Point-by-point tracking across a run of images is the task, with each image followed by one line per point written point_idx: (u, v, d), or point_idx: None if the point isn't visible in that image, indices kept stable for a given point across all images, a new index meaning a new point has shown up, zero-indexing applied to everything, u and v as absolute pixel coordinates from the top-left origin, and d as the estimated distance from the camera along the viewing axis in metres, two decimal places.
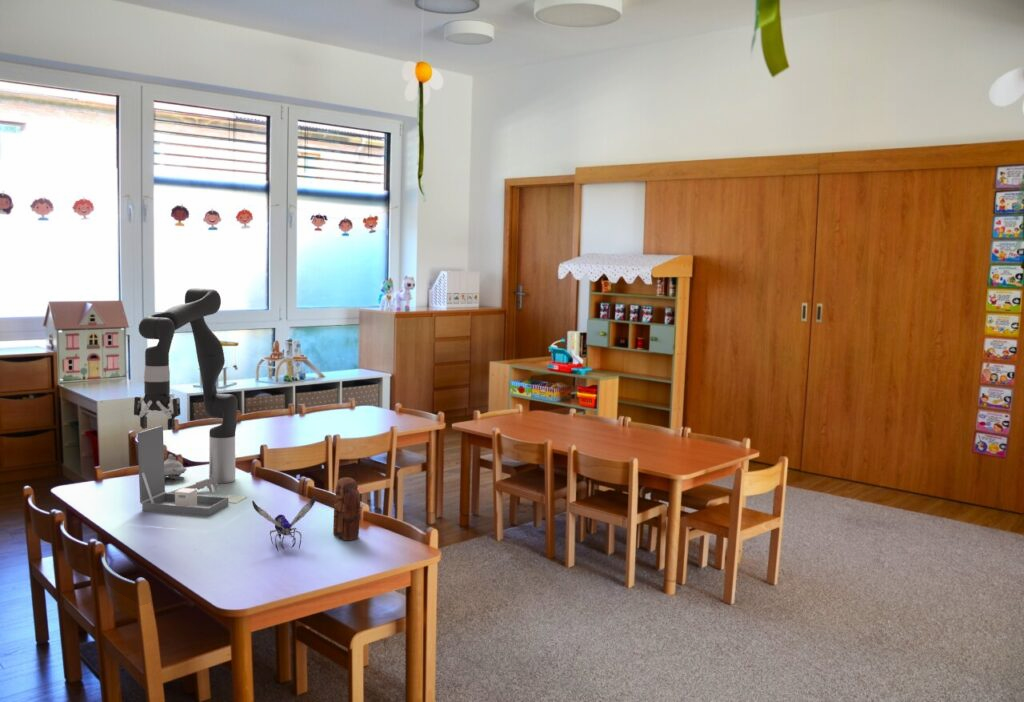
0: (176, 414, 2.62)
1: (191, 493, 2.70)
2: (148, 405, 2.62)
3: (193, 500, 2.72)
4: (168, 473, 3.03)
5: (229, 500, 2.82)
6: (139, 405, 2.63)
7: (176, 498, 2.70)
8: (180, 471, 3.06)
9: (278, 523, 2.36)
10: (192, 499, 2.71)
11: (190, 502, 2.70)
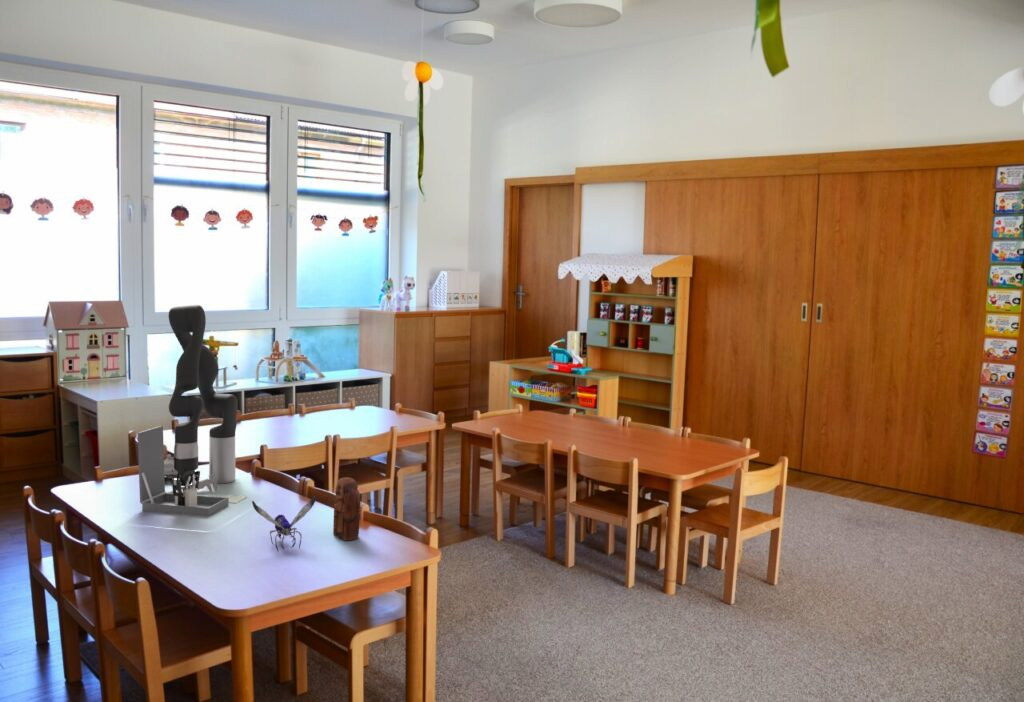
0: (197, 486, 2.77)
1: (191, 493, 2.70)
2: (188, 481, 2.70)
3: (193, 500, 2.72)
4: (166, 473, 3.03)
5: (229, 500, 2.82)
6: None
7: (176, 498, 2.70)
8: None
9: (278, 523, 2.36)
10: (192, 499, 2.71)
11: (190, 502, 2.70)
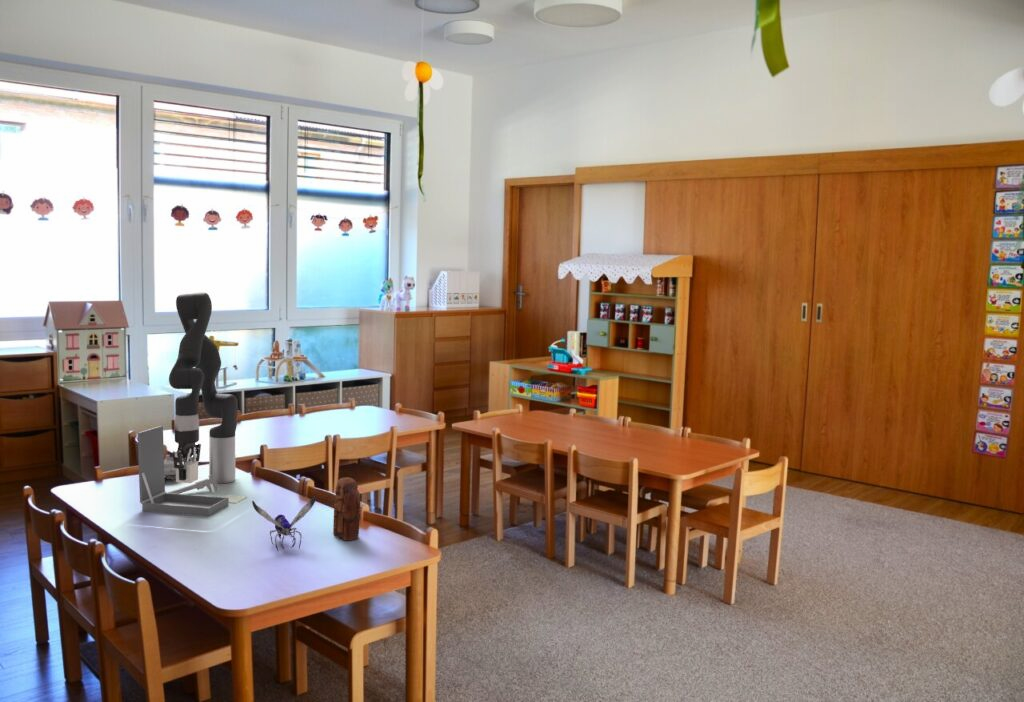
0: (198, 458, 2.76)
1: (192, 466, 2.70)
2: (189, 454, 2.69)
3: (194, 473, 2.71)
4: (165, 473, 3.03)
5: (229, 500, 2.82)
6: None
7: (177, 471, 2.69)
8: None
9: (278, 523, 2.36)
10: (193, 471, 2.71)
11: (191, 475, 2.70)
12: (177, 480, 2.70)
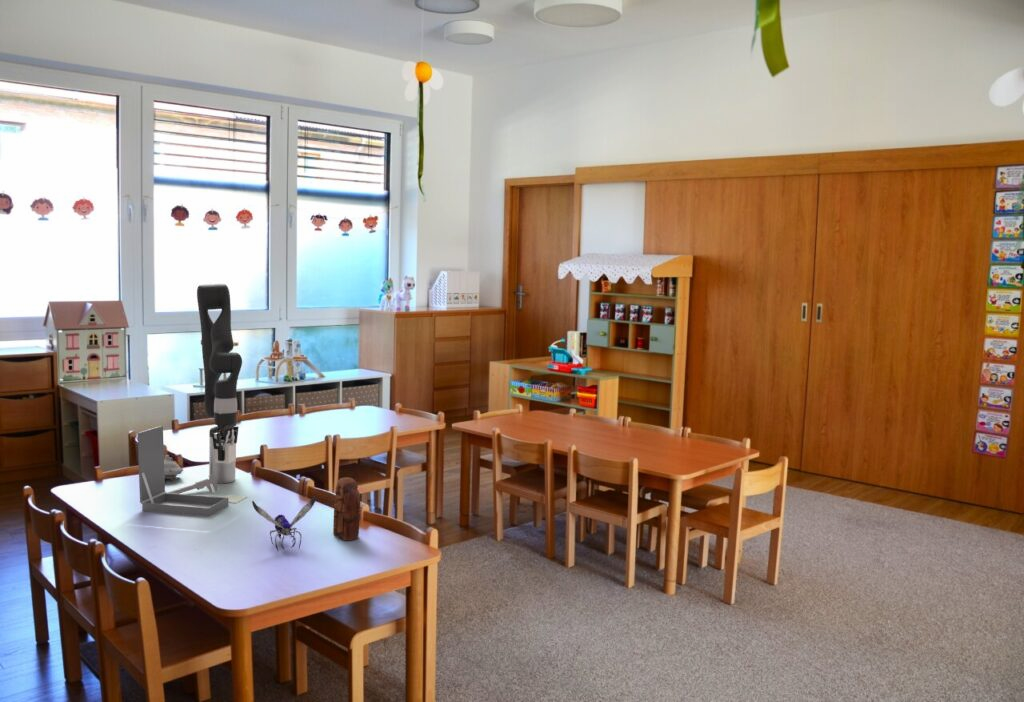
0: (236, 440, 2.86)
1: (230, 447, 2.80)
2: (227, 435, 2.79)
3: (232, 454, 2.81)
4: (164, 474, 3.02)
5: (229, 500, 2.82)
6: None
7: (216, 452, 2.79)
8: (176, 472, 3.05)
9: (278, 523, 2.36)
10: (231, 453, 2.81)
11: (229, 455, 2.80)
12: (216, 461, 2.80)
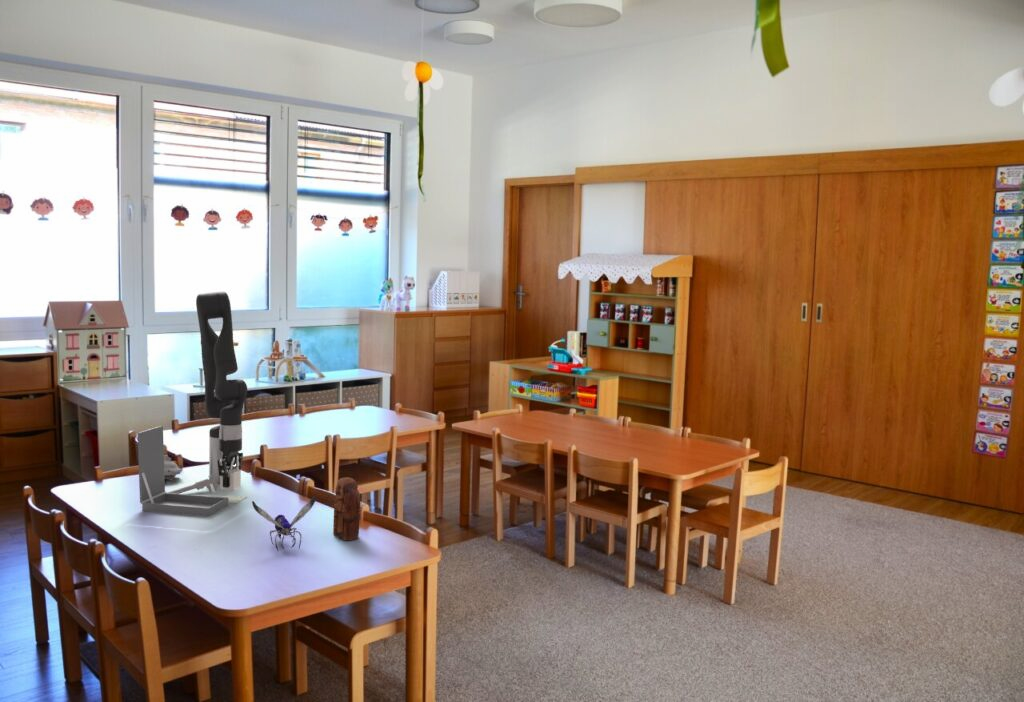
0: None
1: (235, 473, 2.82)
2: (232, 462, 2.81)
3: (237, 480, 2.83)
4: None
5: (229, 500, 2.82)
6: None
7: (221, 478, 2.81)
8: (175, 472, 3.05)
9: (278, 523, 2.36)
10: (236, 479, 2.83)
11: (234, 482, 2.82)
12: (221, 487, 2.82)
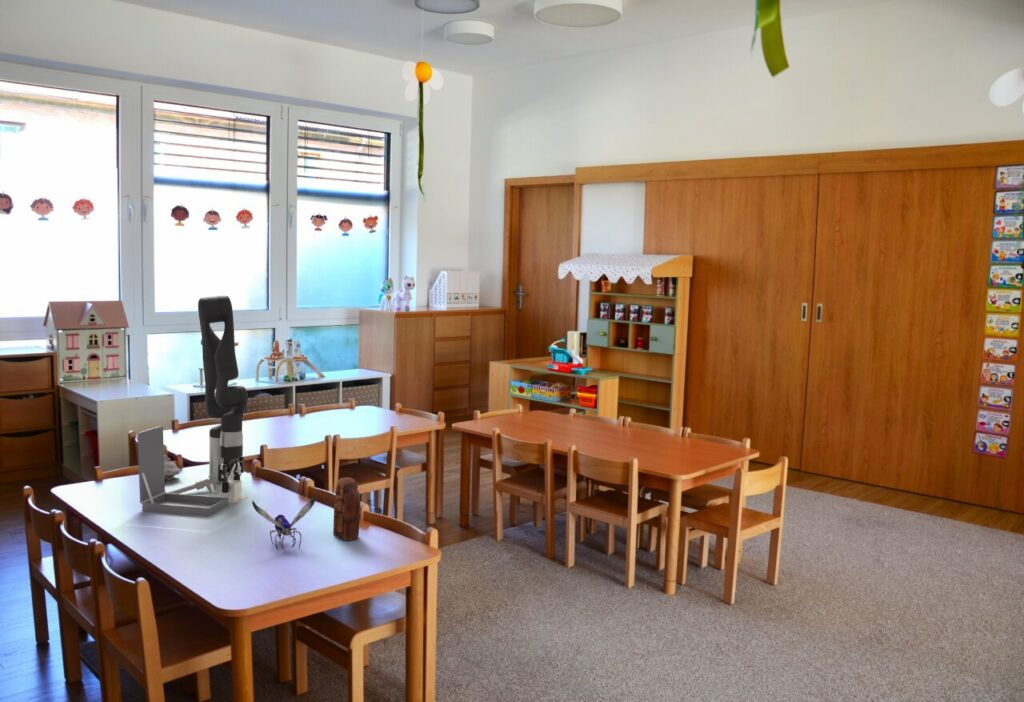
0: None
1: (236, 484, 2.83)
2: (233, 468, 2.81)
3: (238, 491, 2.84)
4: None
5: None
6: None
7: None
8: (174, 472, 3.04)
9: (278, 523, 2.36)
10: (237, 490, 2.83)
11: (235, 493, 2.82)
12: None
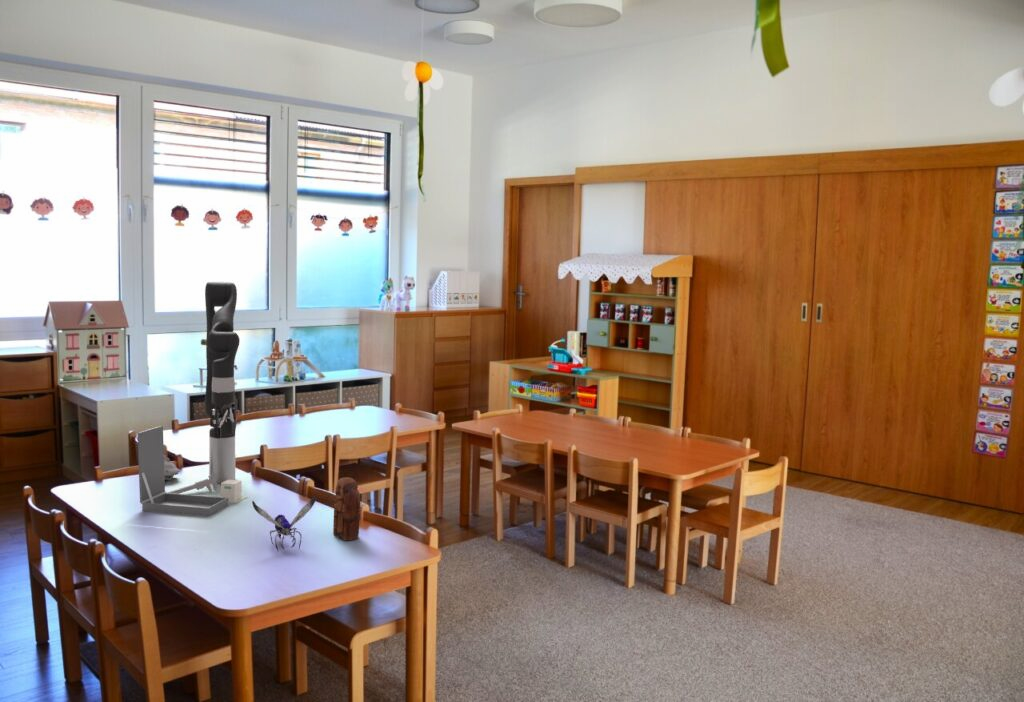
0: None
1: (236, 484, 2.83)
2: (225, 414, 2.80)
3: (238, 491, 2.84)
4: None
5: None
6: None
7: (222, 489, 2.82)
8: (173, 472, 3.04)
9: (278, 523, 2.36)
10: (237, 490, 2.83)
11: (235, 493, 2.82)
12: None
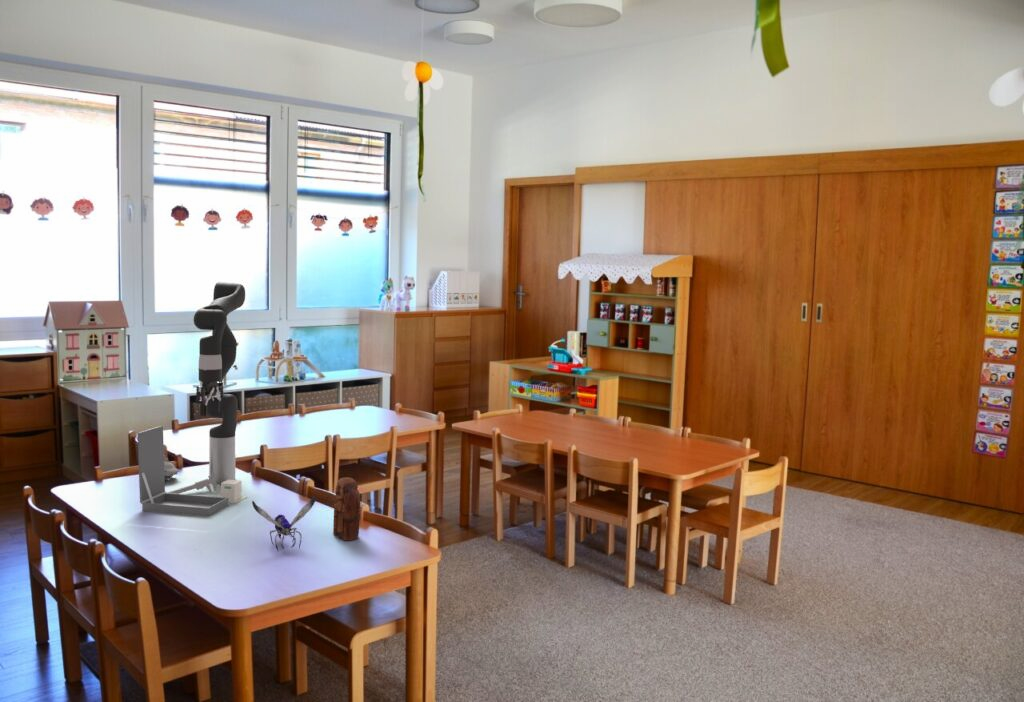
0: None
1: (236, 484, 2.83)
2: (211, 392, 2.80)
3: (238, 491, 2.84)
4: None
5: None
6: None
7: (222, 489, 2.82)
8: (172, 472, 3.04)
9: (278, 523, 2.36)
10: (237, 490, 2.83)
11: (235, 493, 2.82)
12: None
